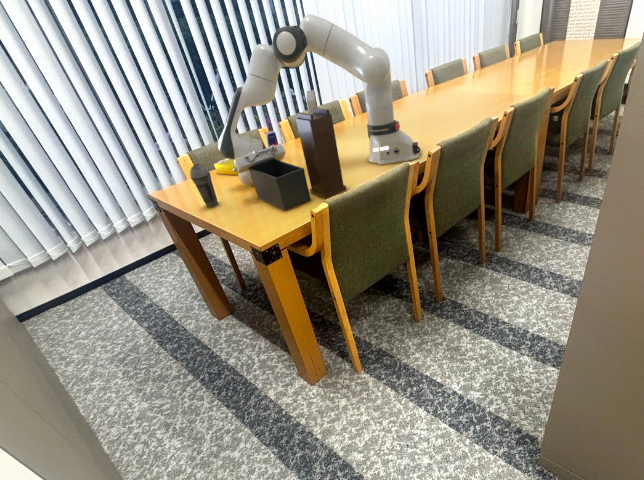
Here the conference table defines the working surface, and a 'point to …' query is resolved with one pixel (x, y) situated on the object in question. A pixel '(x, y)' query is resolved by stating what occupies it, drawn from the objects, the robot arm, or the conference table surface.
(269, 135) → the energy drink
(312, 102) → the network device
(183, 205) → the conference table surface
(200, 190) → the beverage cup
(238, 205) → the conference table surface
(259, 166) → the waste bin
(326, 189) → the bottle stand
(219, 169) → the element tile
